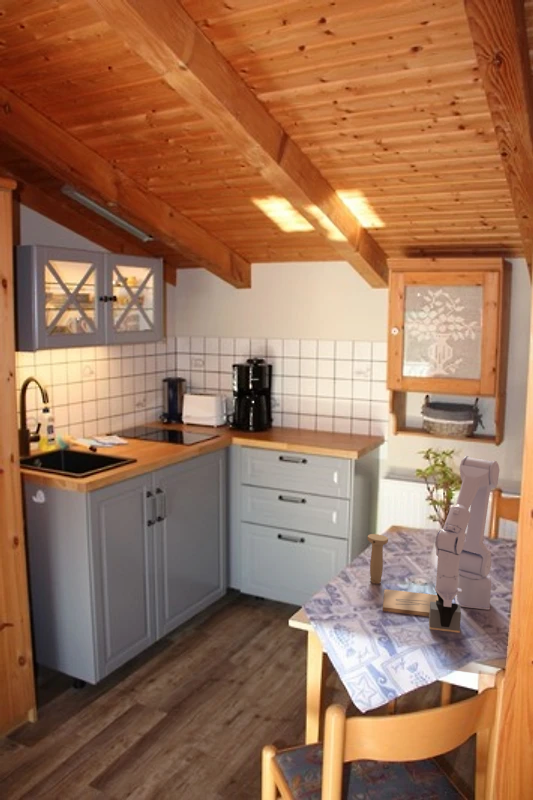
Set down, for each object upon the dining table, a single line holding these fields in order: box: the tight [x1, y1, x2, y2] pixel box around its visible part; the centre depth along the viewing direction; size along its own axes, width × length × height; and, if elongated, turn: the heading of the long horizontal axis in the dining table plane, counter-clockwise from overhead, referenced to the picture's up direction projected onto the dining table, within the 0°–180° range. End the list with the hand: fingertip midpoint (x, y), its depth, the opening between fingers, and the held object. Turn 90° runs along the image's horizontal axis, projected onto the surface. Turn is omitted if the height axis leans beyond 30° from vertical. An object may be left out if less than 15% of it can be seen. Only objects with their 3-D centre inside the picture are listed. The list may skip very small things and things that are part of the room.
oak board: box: [382, 588, 438, 617], centre depth 196 cm, size 16×12×1 cm
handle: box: [367, 533, 389, 585], centre depth 210 cm, size 5×6×15 cm
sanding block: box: [428, 601, 462, 633], centre depth 183 cm, size 8×5×6 cm, turn 78°
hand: (444, 619), depth 183 cm, fingers open, 7 cm apart
